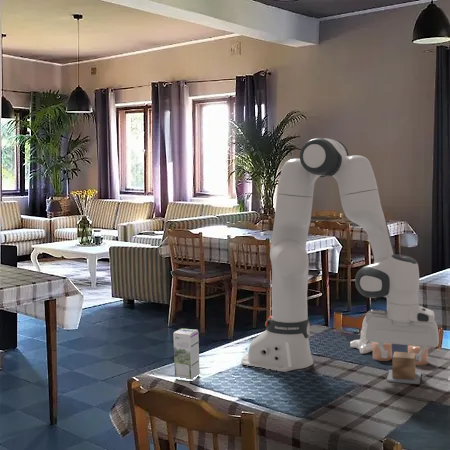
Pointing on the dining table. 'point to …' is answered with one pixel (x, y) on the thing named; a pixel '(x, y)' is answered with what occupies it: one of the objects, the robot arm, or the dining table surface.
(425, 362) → the peach rounded cylinder
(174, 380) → the dining table surface
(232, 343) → the dining table surface
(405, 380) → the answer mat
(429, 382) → the dining table surface
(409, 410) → the dining table surface
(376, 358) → the rounded tan cylinder
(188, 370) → the syrup box
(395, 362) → the walnut cube
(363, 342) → the seated beast figurine
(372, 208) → the robot arm
